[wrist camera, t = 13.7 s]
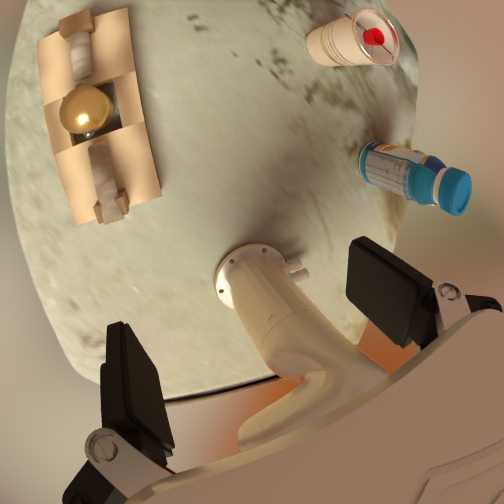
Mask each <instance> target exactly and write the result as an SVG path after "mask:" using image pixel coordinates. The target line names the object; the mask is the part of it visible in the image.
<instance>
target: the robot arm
mask: <svg viewBox="0 0 504 504" xmlns="http://www.w3.org/2000/svg"><path fill="white" fill-rule="evenodd" d="M301 267H302V263H301V261H300V260H296V261H293V262H292V263H289V264H287V263H285V261H284V259H283V257H282V255H281V254H280V253H279V252H278V251H277V250H276V249H275V248H273V247H271V246H269V245H266V244H262V243H253V244H247V245H244V246H241V247H239V248H237V249H235V250H234V251H232V252H231V253H230V254H228V255H227V256H226V257H225V259H224V260H223V261H222V262H221V264H220V265H219V267H218V269H217V271H216V274H215V279H214V286H215V291H216V293H217V296H218V297H219V299H220V300H221V302H222V303H223V304H225V305H226V306H228V307H229V308H232V309H235V310H236V311H237V313H238V315H239V317H240V319H241V320H242V322H243V324H244V326H245V328H246V329H247V331H248V333H249V335H250V337H251V338H252V340H253V342H254V344H255V345H256V347H257V349H258V351H259V353H260V354H261V356H262V358H263V359H264V361H265V363H266V364H267V366H268V367H269V368H270V369H271V370H272V371H273V372H274V373H275V374H277V375H278V376H280V377H282V378H285V379H287V380H291V381H295V382H299V383H301V384H300V385H299V386H297V387H296V388H295V389H294V390H292V391H291V392H290V393H288V394H287V395H285V396H284V397H282V398H281V399H279V400H278V401H276V402H274V403H273V404H271V405H270V406H268V407H266V408H265V409H263V410H262V411H260V412H258V413H257V414H255V415H254V416H252V417H251V418H249V419H248V420H247V421H245V422H244V423H243V424H242V426H241V427H240V429H239V431H238V433H237V445H238V448H239V451H240V453H239V454H236V455H234V456H231V457H228V458H225V459H222V460H219V461H216V462H213V463H209V464H206V465H203V466H199V467H196V468H193V469H190V470H187V471H183V472H180V473H176V472H174V471H173V470H171V469H170V468H168V467H167V466H166V465H167V464H168V463H167V460H166V457H170V456H173V453H172V450H171V449H173V448H175V444H174V440H173V437H172V433H171V429H170V425H169V421H168V417H167V413H166V409H165V404H164V400H163V395H162V390H161V386H160V381H159V375H158V372H157V369H156V367H155V365H154V364H153V362H152V361H151V359H150V358H149V356H148V355H147V353H146V352H145V350H144V349H143V347H142V345H141V344H140V342H139V341H138V339H137V337H136V336H135V334H134V332H133V331H132V329H131V327H130V326H129V324H128V323H126V324H124V323H123V322H122V321H119V322H116V323H113V324H110V325H108V326H107V338H106V363H103V364H102V365H101V368H100V389H101V390H100V393H101V415H102V416H101V417H102V428H99V429H97V430H94V431H93V432H92V433H91V434H90V435H89V436H88V438H87V440H86V443H85V453H86V457H87V458H88V460H87V462H86V463H85V465H84V466H83V467H82V468H81V470H80V471H79V472H78V474H77V475H76V476H75V478H74V479H73V480H72V482H71V483H70V485H69V486H68V487H67V489H66V490H65V492H64V494H63V498H62V501H63V504H504V307H501V305H500V304H499V303H498V302H497V300H496V299H494V298H491V297H485V296H474V295H464V292H463V290H462V289H461V288H460V287H459V286H458V285H457V284H455V283H453V282H450V281H440V282H438V283H437V284H436V285H435V288H432V284H433V281H432V280H431V279H429V278H428V277H426V276H425V275H423V274H422V273H421V272H419V271H417V270H416V269H415V268H413V267H411V266H410V265H409V264H407V263H406V262H404V261H403V260H401V259H400V258H398V257H397V256H395V255H394V254H392V253H391V252H389V251H388V250H386V249H385V248H383V247H382V246H380V245H378V244H377V243H375V242H374V241H372V240H370V239H369V238H367V237H365V236H362V237H359V238H357V239H354V240H352V242H351V245H350V246H349V257H348V271H347V283H346V296H347V298H348V300H349V301H350V302H352V303H353V304H354V305H355V306H356V307H357V308H358V309H359V310H360V311H361V312H362V313H363V314H364V315H365V316H366V317H368V318H369V319H370V320H371V321H372V322H373V323H374V324H375V325H376V326H377V327H378V328H379V329H380V330H381V331H382V332H383V333H384V334H385V335H386V336H388V338H390V339H391V340H392V341H393V342H394V343H395V344H397V345H400V346H401V347H402V348H405V347H406V346H408V345H409V344H410V343H411V342H412V340H413V341H414V342H415V345H416V356H415V357H413V358H412V359H411V360H409V361H408V362H407V363H405V364H404V365H403V366H401V367H400V368H399V369H397V370H396V371H395V372H393V373H392V374H389V373H388V372H387V371H386V370H385V369H384V368H383V367H382V366H381V365H379V364H378V363H377V362H375V361H374V360H373V359H371V358H370V357H369V356H367V355H366V354H365V353H363V352H362V351H361V350H360V349H358V348H357V347H356V346H355V345H353V344H352V343H351V342H350V341H349V340H348V339H347V338H346V337H345V336H344V335H342V334H341V333H340V332H339V331H338V330H337V329H336V327H335V326H334V325H333V324H332V323H331V322H330V321H329V320H328V319H327V318H326V317H325V316H324V315H323V314H322V312H321V311H320V310H319V309H318V308H317V307H316V306H315V305H314V304H313V303H312V302H311V300H310V299H309V298H308V297H307V296H306V295H305V294H304V293H303V292H302V291H301V290H300V288H299V287H298V286H297V285H296V284H295V283H296V282H300V281H303V280H305V279H308V278H309V272H308V270H307V269H306V268H303V269H301V270H298V271H296V272H294V273H292V274H290V271H292V270H295V269H298V268H301Z"/></svg>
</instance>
